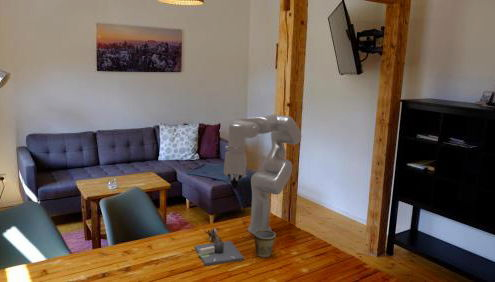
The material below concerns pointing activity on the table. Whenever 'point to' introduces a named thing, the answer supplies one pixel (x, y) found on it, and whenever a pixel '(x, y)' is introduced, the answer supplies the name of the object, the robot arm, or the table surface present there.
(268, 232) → the ceramic cup
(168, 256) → the table surface
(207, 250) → the peg
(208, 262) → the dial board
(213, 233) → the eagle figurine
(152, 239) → the table surface
